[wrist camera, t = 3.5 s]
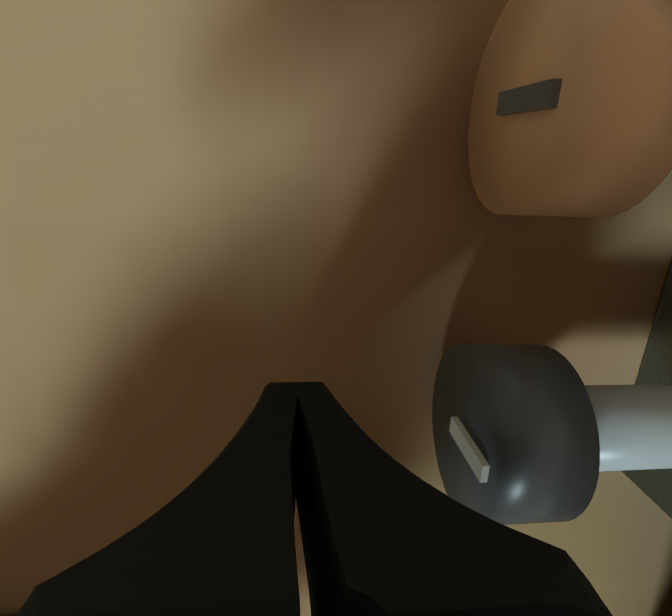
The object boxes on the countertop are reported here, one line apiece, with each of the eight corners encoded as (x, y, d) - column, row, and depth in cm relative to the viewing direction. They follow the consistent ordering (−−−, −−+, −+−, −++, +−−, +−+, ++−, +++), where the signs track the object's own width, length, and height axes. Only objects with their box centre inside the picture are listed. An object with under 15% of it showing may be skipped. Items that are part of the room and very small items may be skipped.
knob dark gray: (420, 450, 13) (477, 571, 9) (437, 319, 12) (509, 400, 8) (690, 441, 14) (837, 546, 10) (733, 321, 13) (919, 392, 9)
